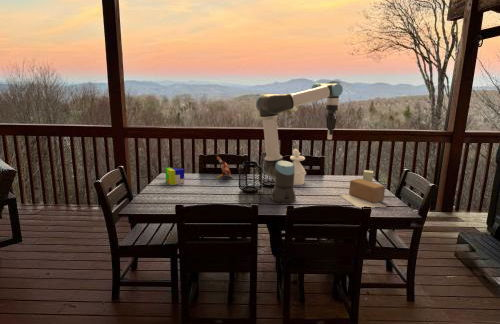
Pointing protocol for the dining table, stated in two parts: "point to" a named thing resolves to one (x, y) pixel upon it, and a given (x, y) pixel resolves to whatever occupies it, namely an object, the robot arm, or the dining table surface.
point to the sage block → (368, 175)
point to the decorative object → (298, 168)
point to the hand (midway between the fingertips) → (329, 139)
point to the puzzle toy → (174, 175)
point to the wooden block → (367, 190)
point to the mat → (361, 202)
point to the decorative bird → (224, 168)
